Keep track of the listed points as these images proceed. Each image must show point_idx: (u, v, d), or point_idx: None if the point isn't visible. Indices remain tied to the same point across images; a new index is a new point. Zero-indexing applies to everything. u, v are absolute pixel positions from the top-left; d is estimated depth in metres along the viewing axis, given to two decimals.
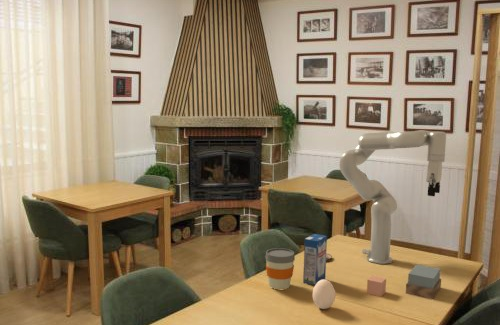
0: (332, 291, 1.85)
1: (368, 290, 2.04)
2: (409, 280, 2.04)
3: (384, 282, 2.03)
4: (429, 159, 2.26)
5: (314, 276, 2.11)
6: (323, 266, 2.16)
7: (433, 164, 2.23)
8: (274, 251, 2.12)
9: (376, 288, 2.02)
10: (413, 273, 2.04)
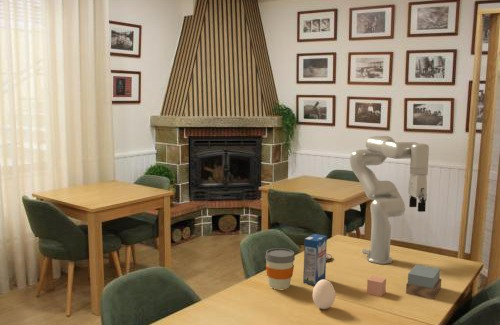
0: (332, 291, 1.85)
1: (368, 290, 2.04)
2: (409, 280, 2.04)
3: (384, 282, 2.03)
4: (416, 173, 2.14)
5: (314, 276, 2.11)
6: (323, 266, 2.16)
7: (423, 178, 2.13)
8: (274, 251, 2.12)
9: (376, 288, 2.02)
10: (412, 273, 2.04)
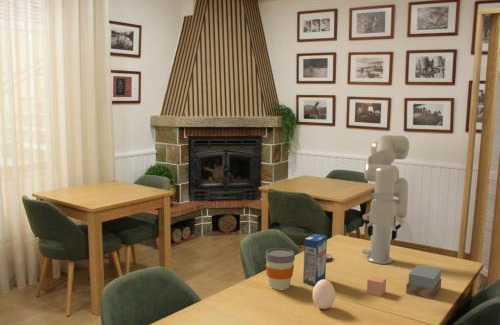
0: (332, 291, 1.85)
1: (368, 290, 2.04)
2: (409, 280, 2.04)
3: (384, 282, 2.03)
4: (389, 200, 1.98)
5: (314, 276, 2.11)
6: (323, 266, 2.16)
7: (394, 203, 1.99)
8: (274, 251, 2.12)
9: (376, 288, 2.02)
10: (413, 274, 2.04)
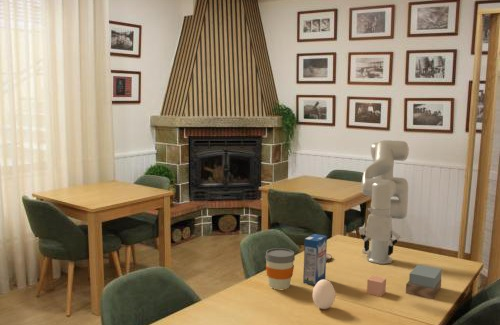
0: (332, 291, 1.85)
1: (368, 290, 2.04)
2: (410, 280, 2.04)
3: (384, 282, 2.03)
4: (385, 215, 1.97)
5: (314, 276, 2.11)
6: (323, 266, 2.16)
7: (391, 219, 1.98)
8: (274, 251, 2.12)
9: (376, 288, 2.02)
10: (414, 273, 2.04)
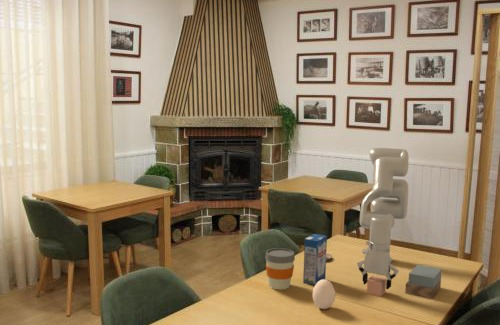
0: (332, 291, 1.85)
1: (368, 290, 2.04)
2: (410, 280, 2.04)
3: (384, 282, 2.03)
4: (384, 249, 1.99)
5: (314, 276, 2.11)
6: (323, 266, 2.16)
7: (389, 253, 2.00)
8: (274, 251, 2.12)
9: (376, 288, 2.02)
10: (413, 273, 2.04)
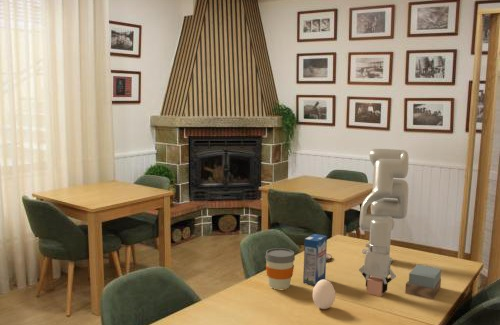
0: (332, 291, 1.85)
1: (368, 290, 2.03)
2: (410, 280, 2.04)
3: None
4: (383, 252, 1.99)
5: (314, 276, 2.11)
6: (323, 266, 2.16)
7: (389, 256, 2.00)
8: (274, 251, 2.12)
9: (376, 288, 2.02)
10: (413, 273, 2.04)
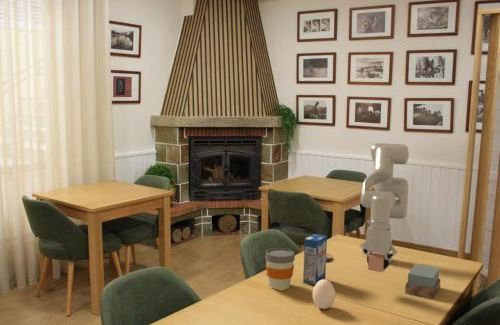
0: (332, 291, 1.85)
1: (369, 266, 2.03)
2: (409, 280, 2.04)
3: None
4: (385, 228, 1.98)
5: (314, 276, 2.11)
6: (323, 266, 2.16)
7: (390, 231, 1.99)
8: (274, 251, 2.12)
9: (377, 264, 2.01)
10: (412, 273, 2.04)
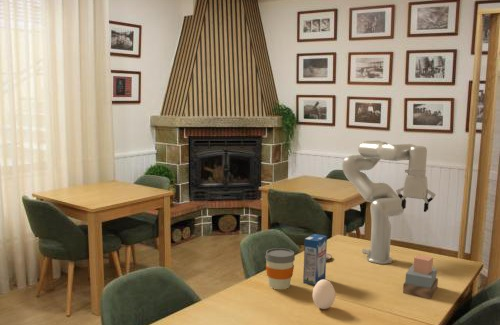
0: (332, 291, 1.85)
1: (415, 268, 2.06)
2: (406, 280, 2.04)
3: (431, 261, 2.05)
4: (422, 175, 2.19)
5: (314, 276, 2.11)
6: (323, 266, 2.16)
7: (426, 179, 2.20)
8: (274, 251, 2.12)
9: (423, 266, 2.04)
10: (410, 273, 2.04)
